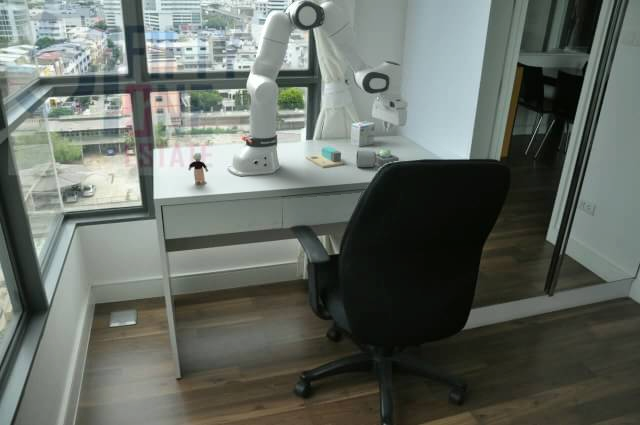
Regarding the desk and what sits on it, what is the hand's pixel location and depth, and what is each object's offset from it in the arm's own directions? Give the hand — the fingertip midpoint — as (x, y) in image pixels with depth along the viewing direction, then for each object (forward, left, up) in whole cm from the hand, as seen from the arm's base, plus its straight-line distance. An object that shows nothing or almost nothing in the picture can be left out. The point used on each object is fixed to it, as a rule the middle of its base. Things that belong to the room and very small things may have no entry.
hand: (387, 131), depth 224 cm
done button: (0, 0, -12) cm, 12 cm away
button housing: (0, 0, -14) cm, 14 cm away
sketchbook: (-24, +13, -14) cm, 31 cm away
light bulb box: (+8, +29, -15) cm, 33 cm away
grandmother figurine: (-83, +11, -15) cm, 85 cm away
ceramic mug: (-11, 0, -15) cm, 18 cm away
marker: (-21, +13, -13) cm, 28 cm away
